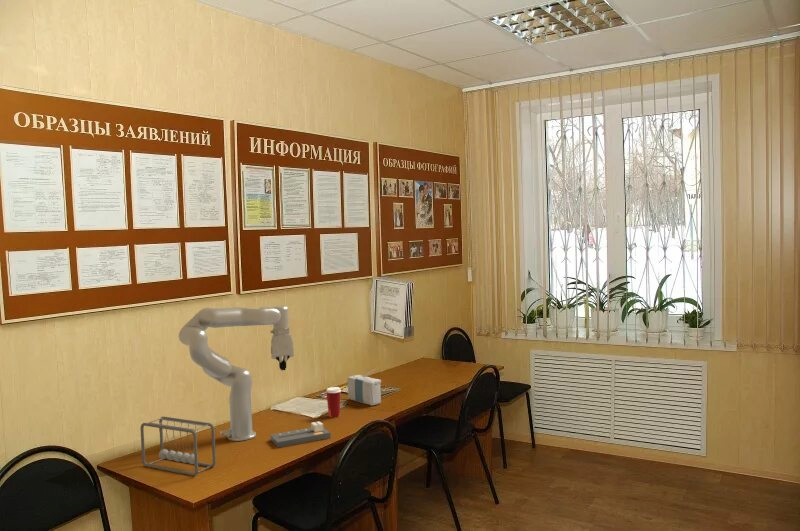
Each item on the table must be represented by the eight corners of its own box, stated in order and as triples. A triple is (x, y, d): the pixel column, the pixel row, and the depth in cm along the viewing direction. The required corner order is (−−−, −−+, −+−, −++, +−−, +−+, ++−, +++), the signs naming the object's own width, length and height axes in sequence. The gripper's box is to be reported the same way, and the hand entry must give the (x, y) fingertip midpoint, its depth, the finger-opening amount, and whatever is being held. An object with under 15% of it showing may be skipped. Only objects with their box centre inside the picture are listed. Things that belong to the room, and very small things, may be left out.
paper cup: (345, 415, 310) (344, 387, 309) (335, 419, 303) (334, 391, 303) (332, 413, 314) (331, 386, 313) (323, 417, 307) (322, 389, 307)
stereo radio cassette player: (347, 400, 339) (346, 364, 338) (359, 397, 344) (358, 362, 343) (371, 407, 323) (369, 369, 322) (383, 404, 328) (381, 367, 328)
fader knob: (315, 432, 274) (314, 425, 274) (311, 429, 278) (311, 422, 278) (323, 430, 276) (323, 423, 276) (319, 427, 280) (319, 421, 280)
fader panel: (277, 447, 263) (277, 441, 263) (270, 440, 273) (270, 434, 273) (330, 438, 274) (330, 432, 273) (321, 431, 284) (321, 425, 284)
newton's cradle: (141, 466, 246) (139, 422, 245) (162, 457, 255) (160, 415, 255) (196, 477, 232) (194, 431, 232) (216, 467, 242) (214, 423, 241)
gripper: (267, 334, 286) (269, 373, 287) (298, 331, 293) (300, 369, 294) (263, 332, 293) (265, 370, 294) (294, 329, 300) (295, 366, 300)
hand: (282, 369), depth 294 cm, fingers closed
